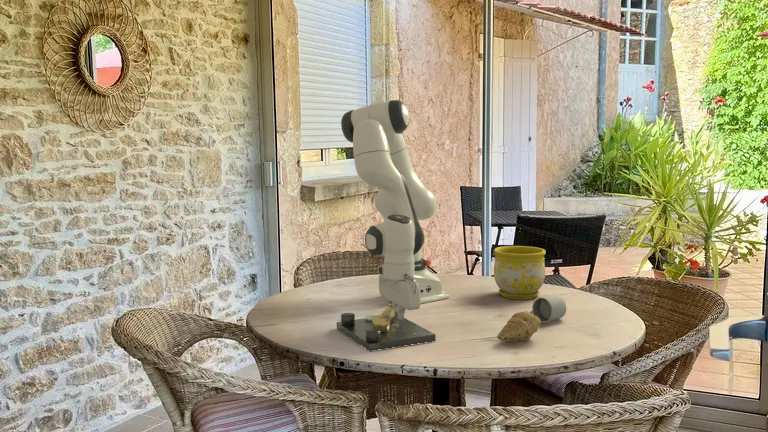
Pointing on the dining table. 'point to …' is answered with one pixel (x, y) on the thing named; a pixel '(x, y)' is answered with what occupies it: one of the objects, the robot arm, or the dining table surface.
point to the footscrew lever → (383, 319)
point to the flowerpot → (519, 271)
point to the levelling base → (375, 339)
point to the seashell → (520, 327)
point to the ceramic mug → (549, 308)
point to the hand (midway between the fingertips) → (399, 318)
